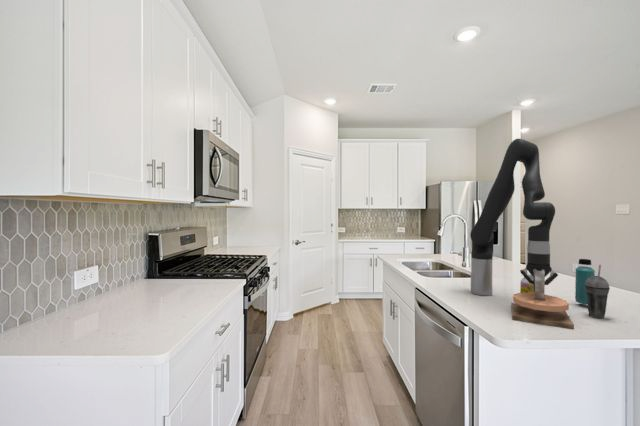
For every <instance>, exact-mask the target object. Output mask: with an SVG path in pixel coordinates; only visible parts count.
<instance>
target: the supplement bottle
mask: <svg viewBox="0 0 640 426" xmlns="http://www.w3.org/2000/svg"><path fill="white" fill-rule="evenodd" d="M527 275H528V276H529V277H530V279H531V280H533V281H534V279H533V276H532V275H531V274H530V273H529V272H527ZM519 293H535V292H534V285H533V284H531V283H529V282H528V281H527V279H526V278H525V277H524V276H523V278H521V279H520V291H519Z"/></svg>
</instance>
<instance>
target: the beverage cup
mask: <svg viewBox="0 0 640 426" xmlns="http://www.w3.org/2000/svg"><path fill="white" fill-rule="evenodd" d="M601 268H602V264H598V272H597V275H595V276H592V277H589V278H588V279H587V280H586V282H585V289H586V292H587V303H588V305H587V312H588V316H589V317H591V318H594V319H601V320H602V319H603V320H604V319H605V316H606V311H607V304H608V296H609V293H610V284H609V282H608V280H607V279H605V278H604V277H601V276H600V274H601Z"/></svg>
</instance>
